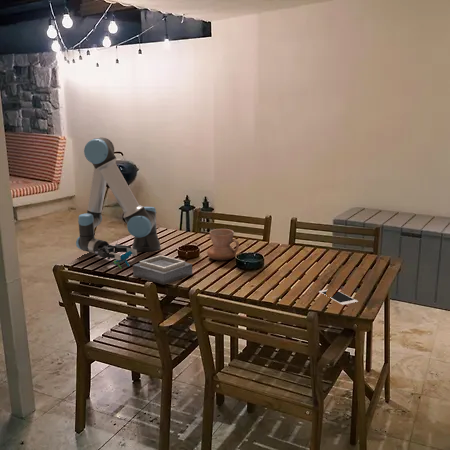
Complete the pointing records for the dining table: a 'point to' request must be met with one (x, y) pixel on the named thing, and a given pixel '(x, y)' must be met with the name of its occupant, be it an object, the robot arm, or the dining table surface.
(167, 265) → the grey open tray
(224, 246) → the ceramic jug
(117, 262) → the gear
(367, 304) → the dining table surface
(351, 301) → the cell phone
